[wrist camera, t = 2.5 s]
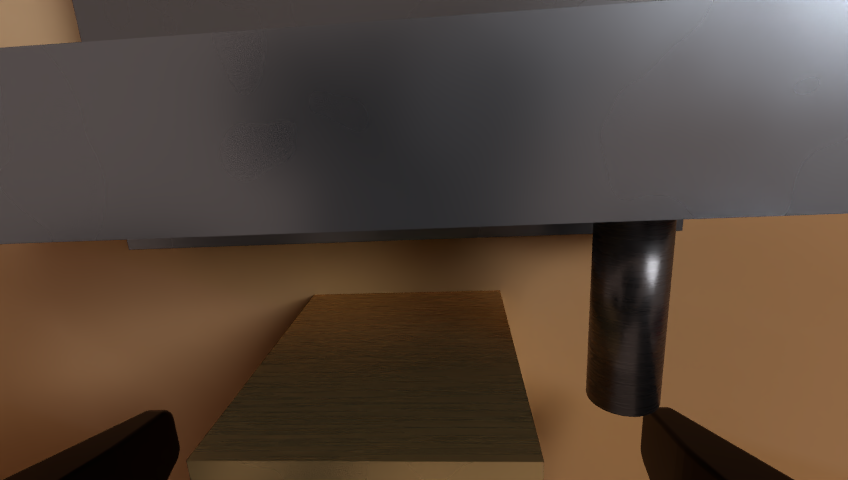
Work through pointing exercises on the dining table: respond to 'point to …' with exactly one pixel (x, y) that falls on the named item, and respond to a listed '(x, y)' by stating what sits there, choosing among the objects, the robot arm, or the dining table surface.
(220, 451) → the block
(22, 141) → the jaw
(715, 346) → the dining table surface
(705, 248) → the dining table surface
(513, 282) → the dining table surface
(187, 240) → the vise base
